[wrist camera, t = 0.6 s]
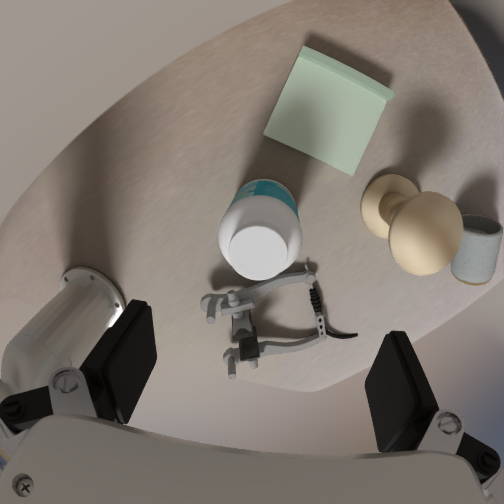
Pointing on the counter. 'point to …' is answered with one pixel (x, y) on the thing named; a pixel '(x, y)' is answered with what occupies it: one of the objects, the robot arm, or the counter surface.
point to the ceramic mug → (477, 250)
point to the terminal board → (328, 110)
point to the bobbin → (413, 223)
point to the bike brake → (246, 334)
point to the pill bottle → (261, 230)
